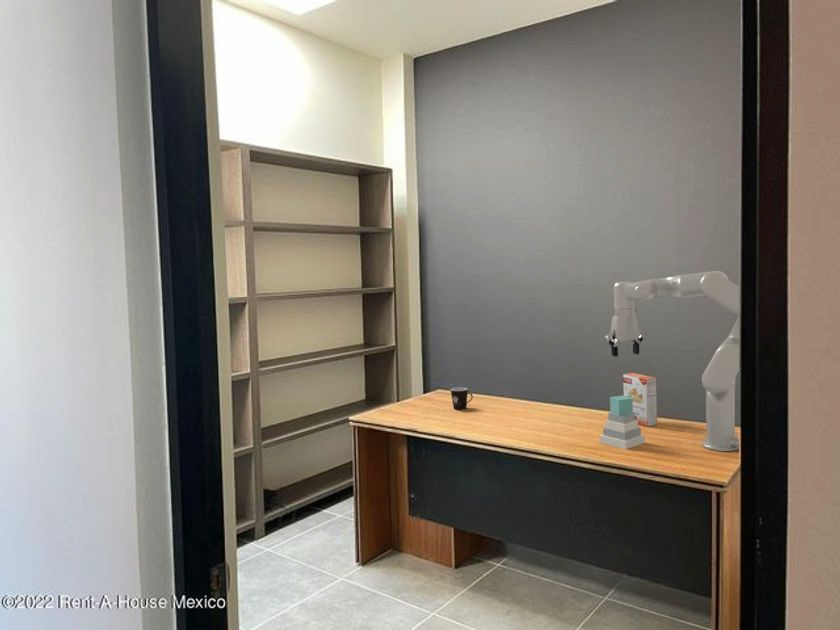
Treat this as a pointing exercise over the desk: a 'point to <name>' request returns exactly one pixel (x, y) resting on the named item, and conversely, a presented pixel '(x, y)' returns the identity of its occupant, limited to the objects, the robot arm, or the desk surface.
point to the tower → (622, 431)
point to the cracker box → (642, 397)
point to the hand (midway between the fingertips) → (625, 355)
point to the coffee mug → (460, 398)
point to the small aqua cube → (621, 405)
